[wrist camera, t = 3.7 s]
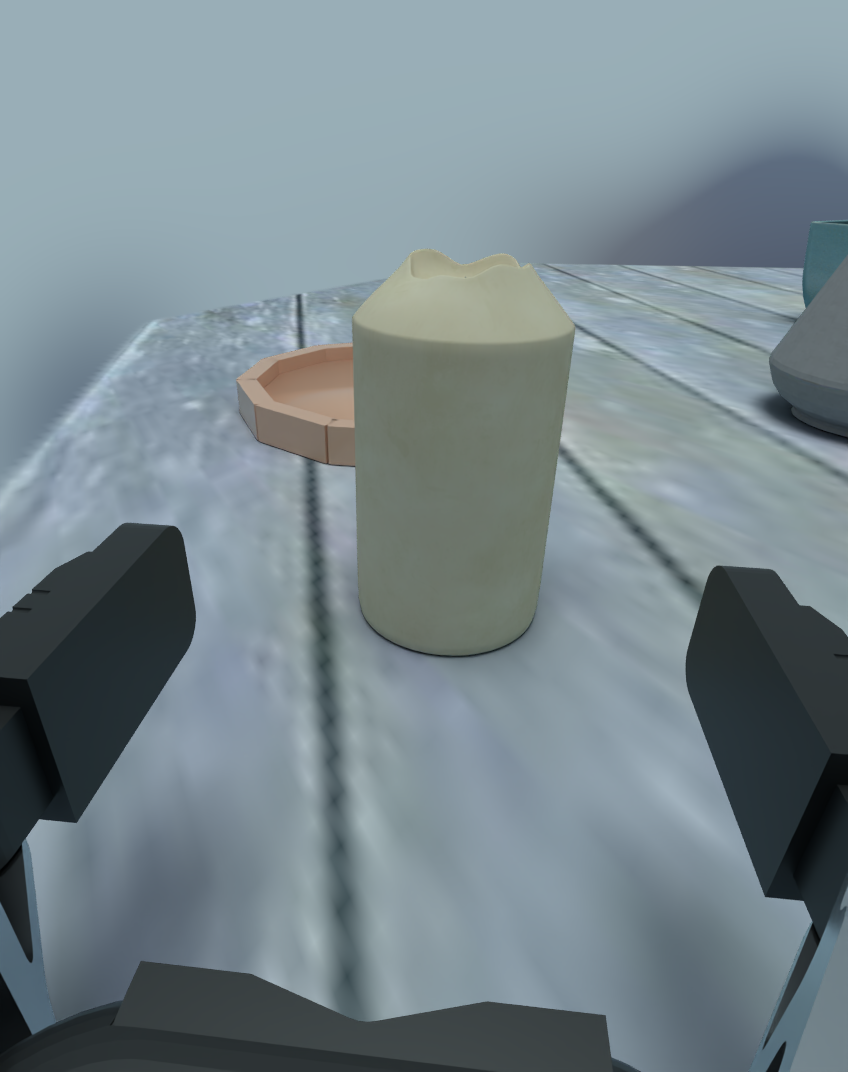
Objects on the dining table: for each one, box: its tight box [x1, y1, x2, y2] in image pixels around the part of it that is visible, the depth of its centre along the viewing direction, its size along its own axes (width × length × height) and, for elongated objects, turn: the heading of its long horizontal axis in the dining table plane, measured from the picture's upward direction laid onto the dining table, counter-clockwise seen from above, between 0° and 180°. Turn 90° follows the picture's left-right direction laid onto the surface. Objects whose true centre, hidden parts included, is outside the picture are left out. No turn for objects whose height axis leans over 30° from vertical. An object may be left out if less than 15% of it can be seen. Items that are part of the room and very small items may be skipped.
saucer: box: [236, 343, 355, 466], centre depth 37 cm, size 17×17×2 cm
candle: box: [352, 249, 575, 656], centre depth 18 cm, size 6×6×10 cm
